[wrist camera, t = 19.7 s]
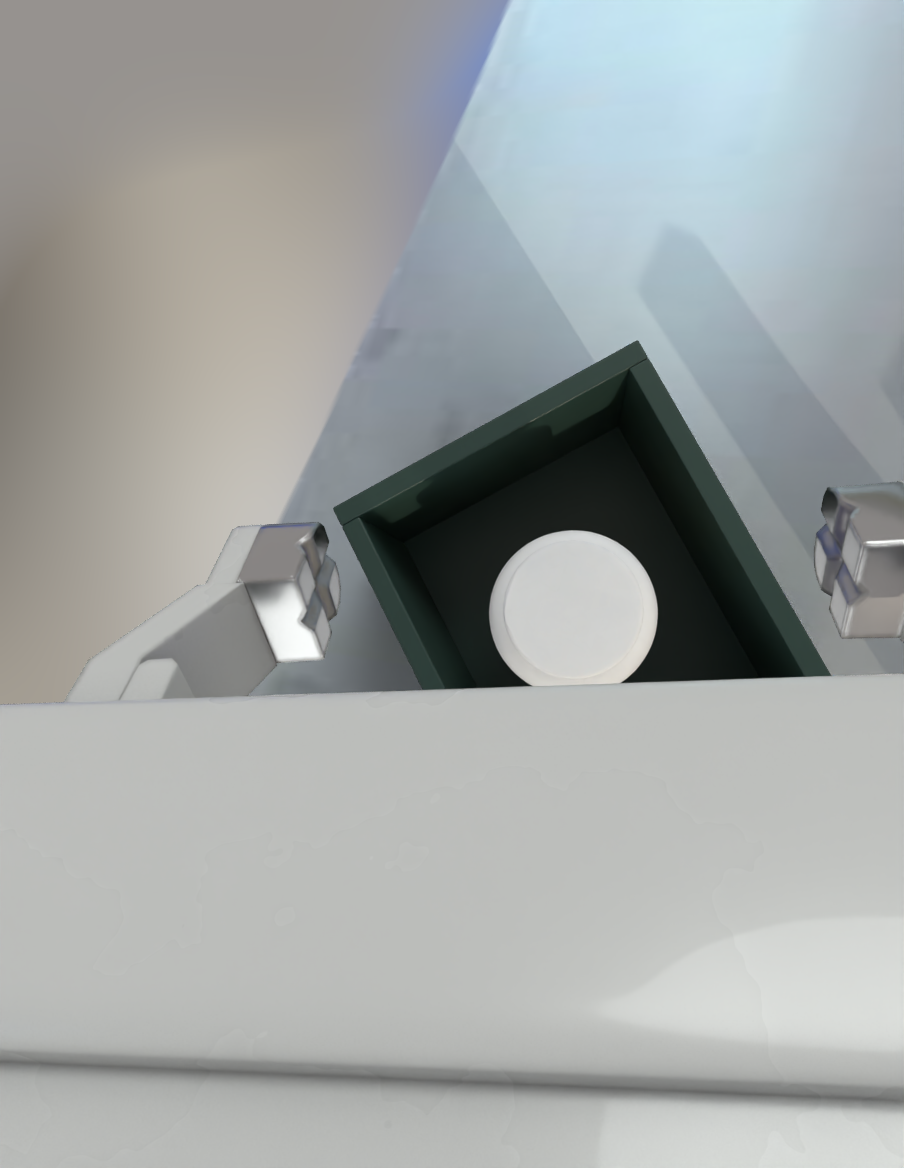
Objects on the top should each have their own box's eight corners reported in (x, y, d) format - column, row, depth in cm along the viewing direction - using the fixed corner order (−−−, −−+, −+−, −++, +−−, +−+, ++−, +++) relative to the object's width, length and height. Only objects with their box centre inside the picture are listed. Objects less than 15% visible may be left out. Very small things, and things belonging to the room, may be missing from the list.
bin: (788, 698, 31) (855, 716, 24) (530, 825, 32) (516, 879, 25) (624, 408, 33) (637, 339, 26) (386, 537, 34) (331, 507, 27)
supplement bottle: (525, 538, 33) (505, 495, 23) (656, 571, 32) (691, 540, 22) (491, 665, 33) (456, 674, 23) (621, 702, 32) (642, 727, 22)
